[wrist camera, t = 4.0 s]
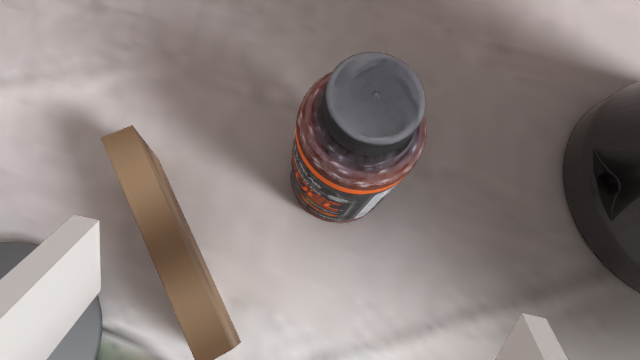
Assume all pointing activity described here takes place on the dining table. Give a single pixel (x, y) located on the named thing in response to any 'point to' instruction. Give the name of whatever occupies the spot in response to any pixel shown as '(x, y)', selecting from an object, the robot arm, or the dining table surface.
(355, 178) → the supplement bottle
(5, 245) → the coaster
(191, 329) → the rail
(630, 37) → the dining table surface
